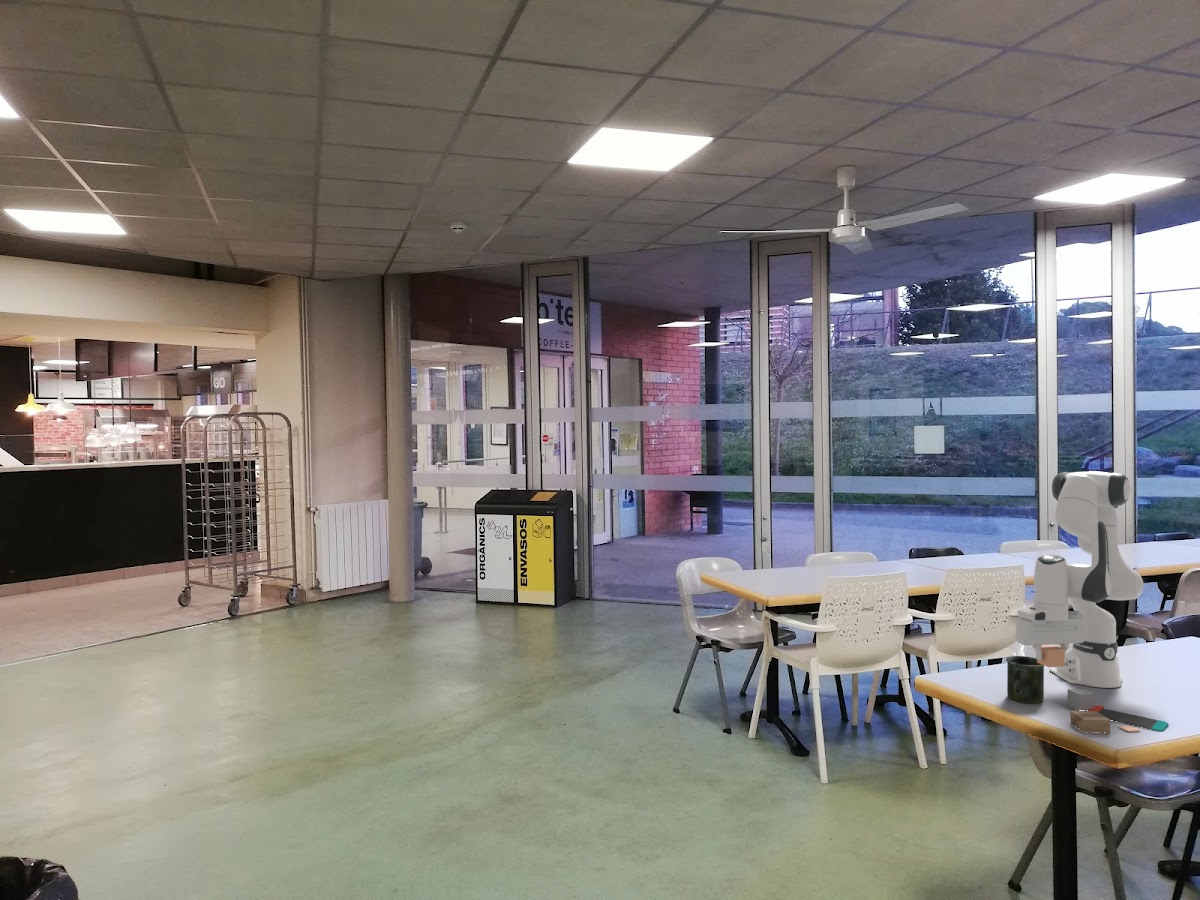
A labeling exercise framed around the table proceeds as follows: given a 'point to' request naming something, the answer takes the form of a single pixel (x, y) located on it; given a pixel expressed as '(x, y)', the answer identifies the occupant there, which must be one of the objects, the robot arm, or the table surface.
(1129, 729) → the tile
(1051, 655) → the terracotta cube
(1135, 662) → the table surface
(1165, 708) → the table surface
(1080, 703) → the grey cube
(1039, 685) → the mug
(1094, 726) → the walnut block
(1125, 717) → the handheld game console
